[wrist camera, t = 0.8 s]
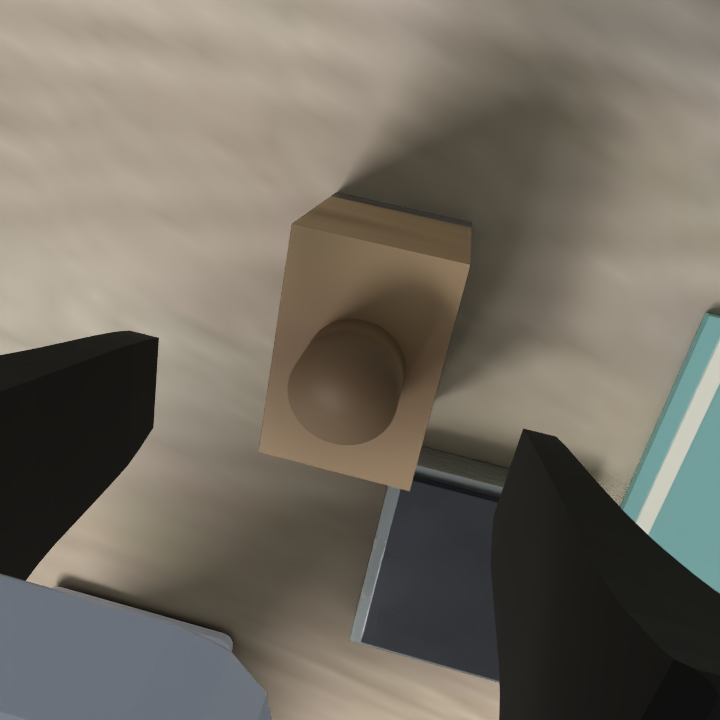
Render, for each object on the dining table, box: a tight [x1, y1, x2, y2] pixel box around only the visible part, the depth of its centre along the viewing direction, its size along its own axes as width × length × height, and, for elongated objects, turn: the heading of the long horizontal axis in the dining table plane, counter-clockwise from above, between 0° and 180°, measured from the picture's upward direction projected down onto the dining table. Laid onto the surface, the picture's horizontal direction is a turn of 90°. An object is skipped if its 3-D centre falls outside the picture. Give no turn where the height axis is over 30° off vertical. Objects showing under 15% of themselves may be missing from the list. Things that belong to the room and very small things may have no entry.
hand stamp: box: [259, 193, 472, 491], centre depth 17 cm, size 6×4×7 cm, turn 169°
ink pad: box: [349, 447, 509, 683], centre depth 22 cm, size 8×6×2 cm
